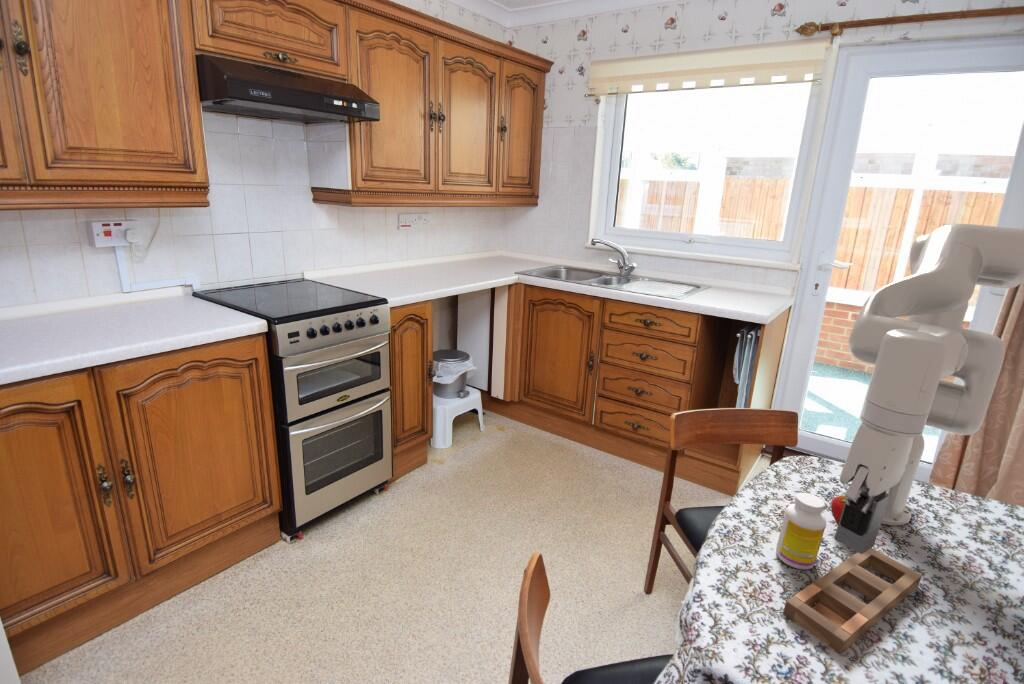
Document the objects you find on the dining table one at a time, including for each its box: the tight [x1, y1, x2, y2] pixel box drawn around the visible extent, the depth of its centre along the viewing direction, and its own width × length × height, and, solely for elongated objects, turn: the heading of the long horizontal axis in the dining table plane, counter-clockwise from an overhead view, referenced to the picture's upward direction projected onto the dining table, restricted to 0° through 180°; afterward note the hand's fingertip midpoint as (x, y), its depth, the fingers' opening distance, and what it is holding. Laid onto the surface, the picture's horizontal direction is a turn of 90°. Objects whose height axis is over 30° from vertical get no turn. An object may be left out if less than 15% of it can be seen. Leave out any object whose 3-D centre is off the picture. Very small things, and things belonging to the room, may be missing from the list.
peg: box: [833, 486, 890, 554], centre depth 81 cm, size 4×4×9 cm
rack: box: [782, 547, 923, 655], centre depth 91 cm, size 28×9×3 cm, turn 124°
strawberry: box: [830, 491, 846, 525], centre depth 107 cm, size 6×8×10 cm
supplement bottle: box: [775, 492, 827, 570], centre depth 98 cm, size 7×7×13 cm
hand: (859, 524), depth 81 cm, fingers closed on peg, 4 cm apart
